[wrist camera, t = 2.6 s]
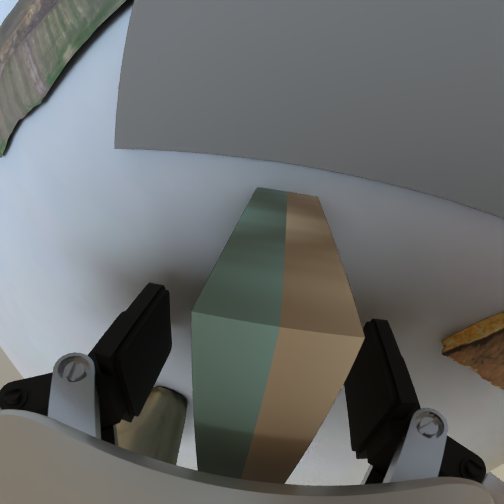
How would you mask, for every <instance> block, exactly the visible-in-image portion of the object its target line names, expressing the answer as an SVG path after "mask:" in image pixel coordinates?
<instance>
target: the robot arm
mask: <svg viewBox="0 0 504 504" xmlns="http://www.w3.org/2000/svg"><path fill="white" fill-rule="evenodd" d="M363 332H364V336H365V339H364V341H363V343H362V346H361V348H360V350H359V352H358V355H357V357H356V359H355V361H354V363H353V365H352V367H351V370H350V372H349V374H348V376H347V378H346V380H345V382H344V386H345V394H346V402H347V410H348V418H349V427H350V437H351V447H352V451H356V458H357V459H366V458H367V459H368V463H369V464H370V466H369V468H368V470H367V472H366V474H365V476H364V478H363V480H362V482H361V484H360V485H346V486H310V485H290V484H277V483H267V482H258V481H251V480H244V479H237V478H231V477H225V476H220V475H215V474H210V473H205V472H201V471H197V470H192V469H188V468H184V467H180V466H177V465H173V464H169V463H166V462H163V461H159V460H156V459H153V458H150V457H147V456H144V455H141V454H138V453H135V452H132V451H129V450H127V449H124V448H121V447H119V445H118V437H117V428H116V424H118V423H120V422H121V420H125V421H127V422H130V423H131V422H132V420H133V418H134V416H136V417H138V416H139V415H140V413H141V411H142V409H143V407H144V405H145V403H146V401H147V399H148V397H149V394H150V392H151V390H152V388H153V386H154V384H155V382H156V380H157V378H158V376H159V374H160V372H161V370H162V368H163V366H164V364H165V362H166V360H167V358H168V356H169V354H170V351H171V347H172V339H171V322H170V300H169V291H168V290H165V287H164V286H163V285H159V284H154V283H148V284H147V286H146V287H145V288H144V289H143V290H142V292H141V293H140V294H139V295H138V297H137V298H136V299H135V300H134V301H133V303H132V304H131V305H130V306H129V308H128V309H127V310H126V311H124V312H122V313H121V314H120V315H119V316H118V317H117V318H116V320H115V321H114V322H113V324H112V325H111V326H110V327H109V329H108V330H107V331H106V332H105V334H104V335H103V336H102V338H101V339H100V340H99V341H98V343H97V344H96V345H95V347H94V348H93V349H92V351H91V352H90V353H89V354H88V356H87V355H85V354H82V353H69V354H67V355H64V356H62V357H61V358H60V359H58V361H57V362H56V363H55V366H54V369H53V373H49V374H44V375H40V376H36V377H31V378H27V379H23V380H17V381H13V382H10V383H7V384H6V385H5V386H3V388H2V389H1V390H0V504H504V482H503V481H501V480H500V479H499V478H497V477H496V476H495V475H493V474H492V473H491V472H490V471H489V472H488V473H487V474H486V467H485V464H484V462H483V460H482V459H481V458H480V457H479V456H478V455H476V454H475V453H473V452H472V451H470V450H468V449H467V448H465V447H464V446H462V445H461V444H459V443H458V442H456V441H455V440H453V439H452V438H450V437H449V436H447V432H448V425H447V422H446V419H445V418H444V416H443V415H442V414H441V413H439V412H438V411H436V410H434V409H431V408H422V409H421V408H420V405H419V402H418V398H417V395H416V392H415V389H414V387H413V384H412V381H411V378H410V375H409V372H408V369H407V367H406V364H405V361H404V359H403V357H402V356H401V354H400V351H399V348H398V346H397V343H396V340H395V338H394V335H393V333H392V330H391V328H390V325H389V323H388V321H387V320H380V319H372V320H371V321H370V322H367V323H366V324H365V326H364V329H363Z"/></svg>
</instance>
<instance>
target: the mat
mask: <svg viewBox="0 0 504 504" xmlns="http://www.w3.org/2000/svg"><path fill="white" fill-rule="evenodd" d="M114 149H145V150H166V151H181V152H194V153H206V154H216V155H226V156H235V157H244V158H252V159H259V160H267V161H274V162H281V163H287V164H293V165H300V166H305V167H311V168H317V169H322V170H328V171H333V172H338V173H343V174H348V175H353V176H357V177H362V178H367V179H371V180H375V181H380V182H384V183H388V184H392V185H396V186H400V187H404V188H408V189H412V190H415V191H419V192H423V193H426V194H430V195H433V196H437V197H440V198H444V199H447V200H450V201H453V202H457V203H460V204H463V205H466V206H469V207H472V208H475V209H478V210H481V211H484V212H487V213H490V214H492V215H495V216H498V217H501V218H503V219H504V0H134V3H133V8H132V12H131V17H130V21H129V26H128V31H127V36H126V42H125V48H124V54H123V60H122V67H121V74H120V82H119V91H118V101H117V112H116V127H115V147H114Z"/></svg>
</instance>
